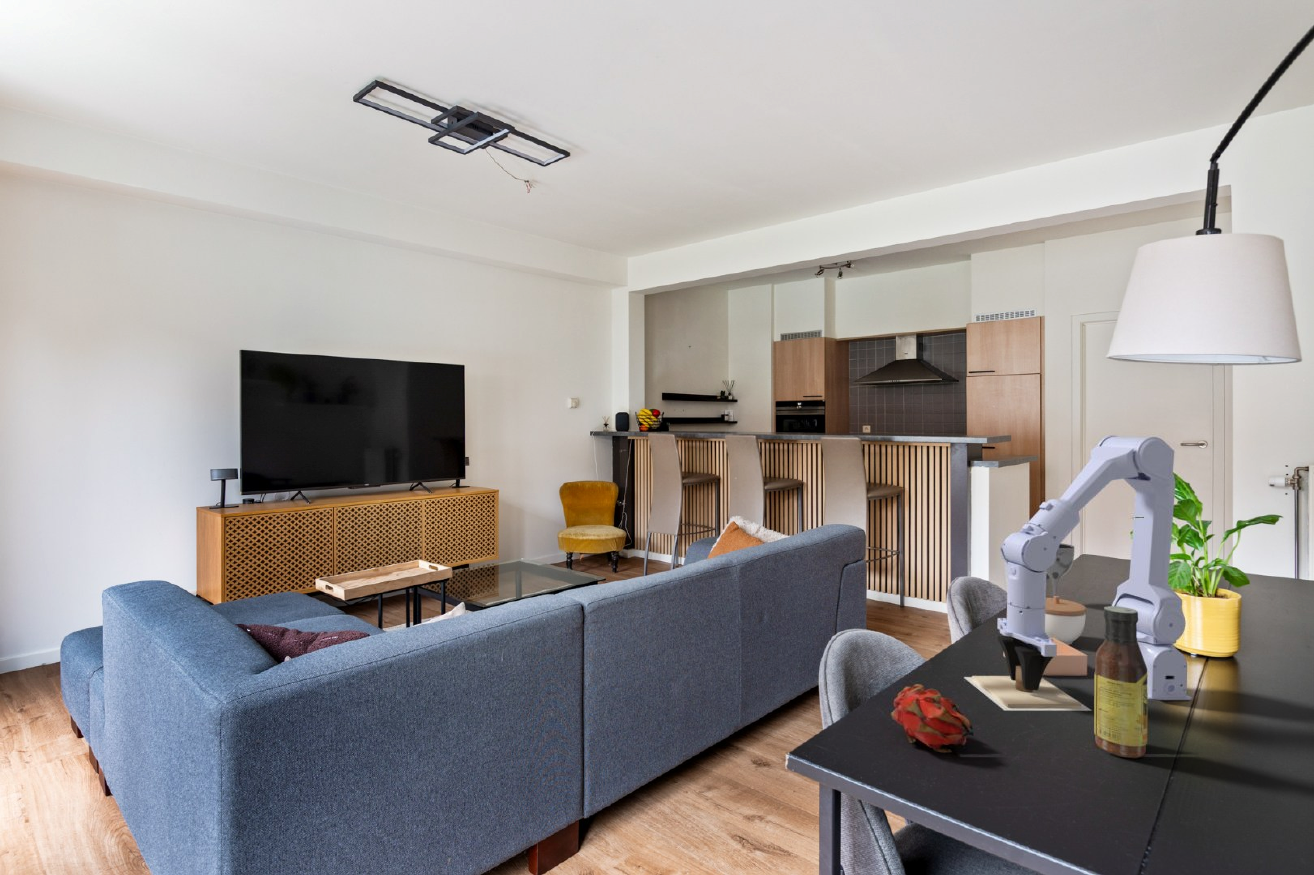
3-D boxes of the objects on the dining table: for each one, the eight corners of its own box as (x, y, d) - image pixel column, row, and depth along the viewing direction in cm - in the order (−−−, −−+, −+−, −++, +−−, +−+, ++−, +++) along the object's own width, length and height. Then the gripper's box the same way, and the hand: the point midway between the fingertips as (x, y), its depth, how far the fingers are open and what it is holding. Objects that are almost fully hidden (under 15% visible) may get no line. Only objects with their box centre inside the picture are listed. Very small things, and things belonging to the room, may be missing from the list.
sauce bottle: (1155, 762, 94) (1160, 617, 93) (1104, 758, 95) (1108, 614, 94) (1132, 740, 100) (1136, 605, 100) (1085, 736, 101) (1088, 602, 101)
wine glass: (1040, 606, 172) (1042, 547, 172) (1033, 598, 180) (1035, 541, 179) (1077, 609, 170) (1078, 549, 169) (1068, 601, 177) (1069, 543, 177)
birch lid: (1081, 707, 111) (1082, 681, 110) (1007, 707, 110) (1008, 681, 110) (1038, 679, 123) (1039, 655, 122) (971, 679, 122) (972, 655, 122)
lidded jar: (1069, 633, 151) (1070, 590, 150) (1095, 649, 140) (1097, 604, 140) (1018, 631, 152) (1019, 589, 151) (1040, 647, 141) (1041, 602, 141)
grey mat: (1091, 712, 110) (1091, 710, 110) (1004, 712, 109) (1004, 710, 109) (1040, 679, 124) (1040, 677, 124) (963, 679, 123) (963, 677, 123)
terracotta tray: (1086, 677, 125) (1087, 655, 125) (1032, 677, 125) (1032, 655, 124) (1053, 658, 135) (1054, 637, 135) (1003, 658, 135) (1003, 637, 134)
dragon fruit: (891, 734, 105) (966, 778, 96) (868, 715, 100) (946, 760, 91) (916, 685, 107) (992, 723, 98) (895, 664, 102) (974, 702, 93)
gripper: (981, 593, 123) (979, 668, 124) (1026, 616, 109) (1024, 702, 109) (1020, 593, 123) (1018, 668, 124) (1070, 617, 109) (1068, 702, 109)
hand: (1024, 684), depth 116 cm, fingers open, 3 cm apart
